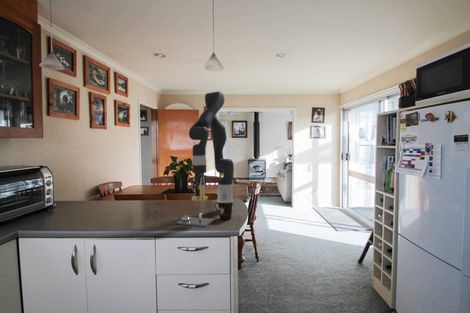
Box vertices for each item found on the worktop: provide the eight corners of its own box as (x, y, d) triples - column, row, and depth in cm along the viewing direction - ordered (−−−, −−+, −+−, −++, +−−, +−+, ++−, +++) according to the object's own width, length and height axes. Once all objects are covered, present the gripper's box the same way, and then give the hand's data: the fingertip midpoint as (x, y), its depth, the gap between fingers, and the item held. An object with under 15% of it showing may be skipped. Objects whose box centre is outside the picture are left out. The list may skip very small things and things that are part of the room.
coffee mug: (235, 219, 157) (235, 201, 157) (222, 221, 153) (222, 203, 152) (226, 215, 167) (226, 198, 167) (213, 216, 163) (213, 200, 162)
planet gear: (196, 197, 155) (196, 183, 155) (210, 198, 153) (209, 183, 152) (189, 200, 147) (188, 185, 147) (203, 201, 145) (203, 185, 144)
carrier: (187, 218, 160) (187, 209, 159) (214, 220, 154) (214, 211, 154) (176, 224, 148) (176, 214, 148) (205, 226, 143) (205, 217, 143)
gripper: (198, 163, 157) (199, 193, 158) (186, 164, 144) (187, 197, 144) (211, 163, 155) (211, 193, 156) (199, 164, 141) (200, 198, 142)
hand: (199, 195), depth 150 cm, fingers closed on planet gear, 5 cm apart
